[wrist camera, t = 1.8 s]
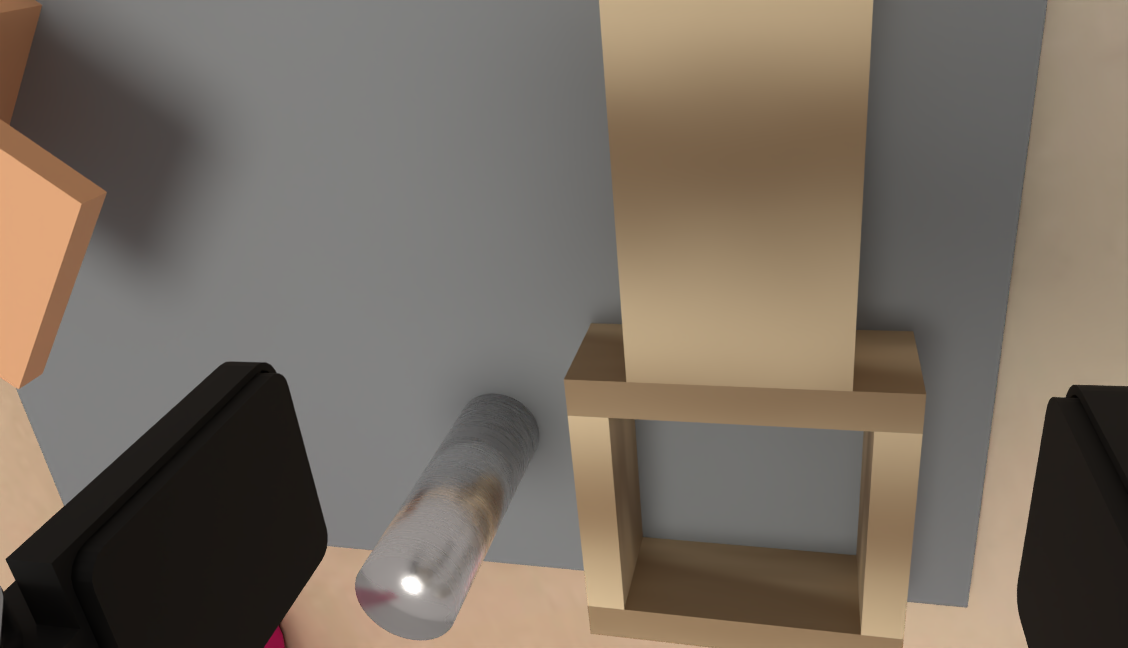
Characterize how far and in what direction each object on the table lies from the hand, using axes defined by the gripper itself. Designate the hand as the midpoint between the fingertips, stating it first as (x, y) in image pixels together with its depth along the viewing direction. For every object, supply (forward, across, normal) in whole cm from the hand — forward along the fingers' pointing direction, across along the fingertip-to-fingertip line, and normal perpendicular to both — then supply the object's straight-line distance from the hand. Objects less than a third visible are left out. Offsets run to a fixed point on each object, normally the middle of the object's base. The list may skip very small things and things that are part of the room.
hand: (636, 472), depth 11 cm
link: (+12, -1, +3) cm, 12 cm away
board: (+12, +8, +3) cm, 15 cm away
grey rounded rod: (+12, +6, +8) cm, 16 cm away
